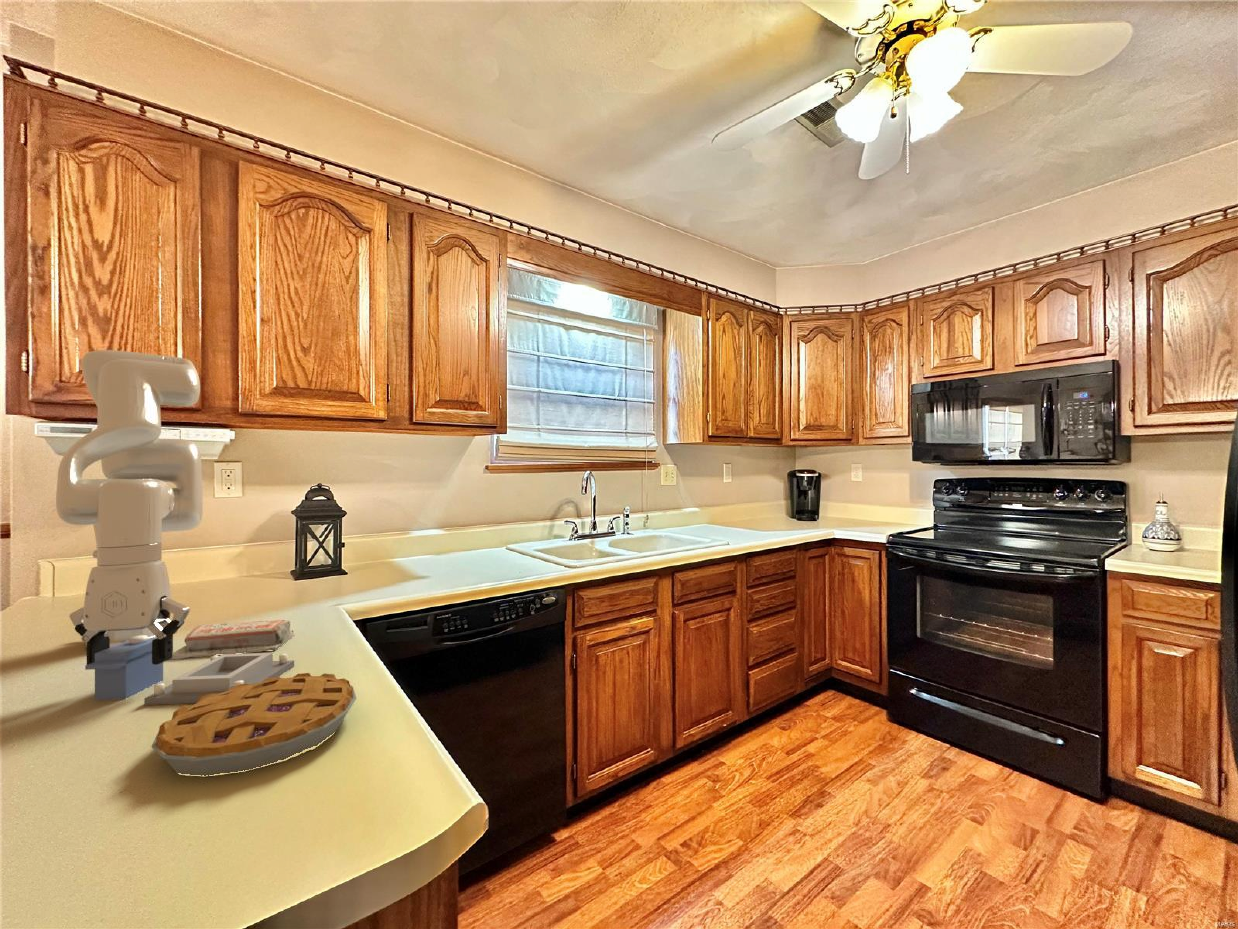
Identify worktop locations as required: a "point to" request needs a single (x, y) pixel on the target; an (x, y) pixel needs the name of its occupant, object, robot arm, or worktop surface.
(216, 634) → the packaged product
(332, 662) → the worktop surface
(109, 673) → the block
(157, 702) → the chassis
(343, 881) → the worktop surface
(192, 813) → the worktop surface
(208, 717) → the pie
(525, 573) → the worktop surface
